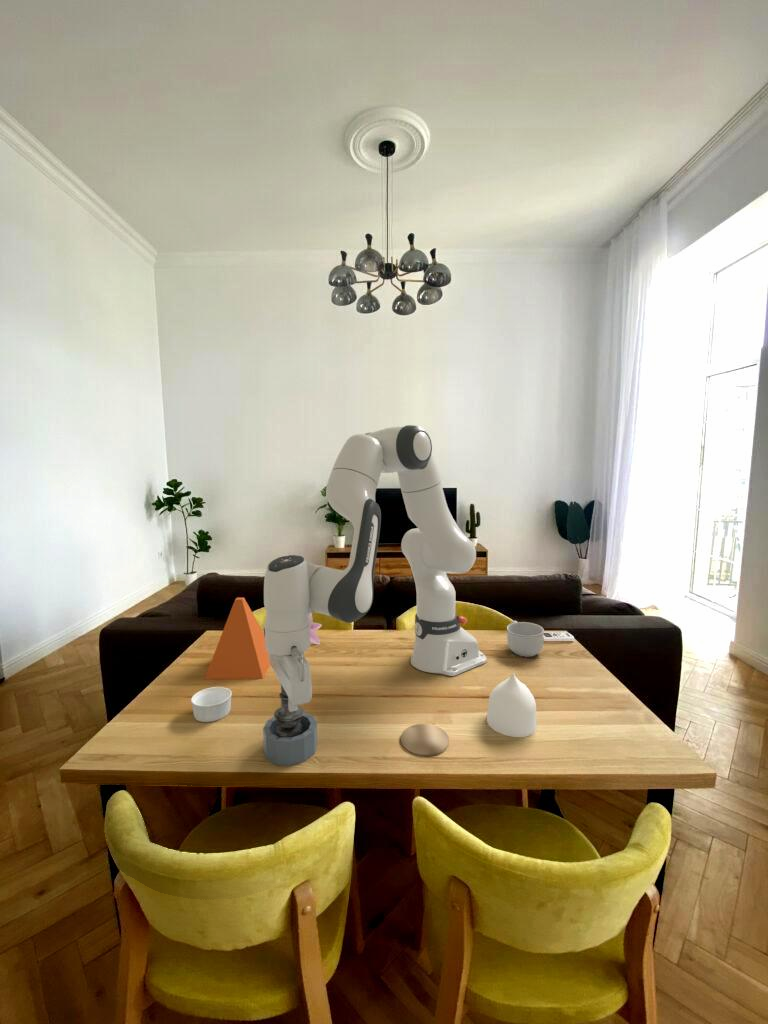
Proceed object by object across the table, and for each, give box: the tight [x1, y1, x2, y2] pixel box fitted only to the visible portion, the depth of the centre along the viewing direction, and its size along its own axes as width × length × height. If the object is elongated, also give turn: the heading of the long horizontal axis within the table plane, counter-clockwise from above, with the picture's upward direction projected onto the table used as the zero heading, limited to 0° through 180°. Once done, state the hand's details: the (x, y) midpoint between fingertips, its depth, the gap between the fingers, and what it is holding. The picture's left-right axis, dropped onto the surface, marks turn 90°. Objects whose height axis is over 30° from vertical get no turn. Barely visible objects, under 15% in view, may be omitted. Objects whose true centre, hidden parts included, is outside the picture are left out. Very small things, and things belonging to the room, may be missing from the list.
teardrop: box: [486, 672, 538, 738], centre depth 101 cm, size 11×11×12 cm
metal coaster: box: [400, 723, 450, 757], centre depth 95 cm, size 10×10×1 cm
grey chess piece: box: [273, 685, 305, 737], centre depth 91 cm, size 6×6×12 cm
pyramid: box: [204, 597, 271, 680], centre depth 128 cm, size 16×16×20 cm
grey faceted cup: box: [262, 711, 318, 767], centre depth 92 cm, size 10×10×5 cm
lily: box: [309, 612, 323, 645], centre depth 145 cm, size 12×12×10 cm
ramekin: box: [190, 686, 233, 723], centre depth 105 cm, size 9×9×4 cm
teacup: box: [506, 620, 545, 658], centre depth 139 cm, size 14×11×8 cm
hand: (289, 703), depth 91 cm, fingers closed on grey chess piece, 3 cm apart
